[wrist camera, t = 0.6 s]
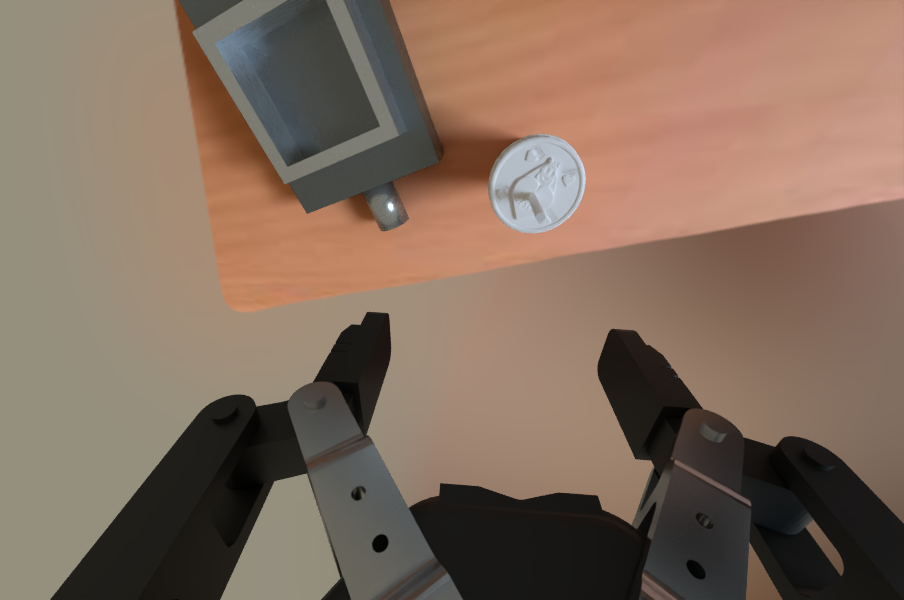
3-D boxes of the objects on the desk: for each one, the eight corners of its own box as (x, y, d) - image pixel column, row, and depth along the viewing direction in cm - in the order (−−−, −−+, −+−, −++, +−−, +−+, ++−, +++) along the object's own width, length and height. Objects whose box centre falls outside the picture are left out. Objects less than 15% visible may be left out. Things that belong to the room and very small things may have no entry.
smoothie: (473, 175, 31) (468, 228, 20) (512, 105, 28) (533, 120, 16) (530, 208, 33) (557, 278, 21) (574, 146, 29) (634, 187, 18)
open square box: (359, -84, 23) (316, -142, 17) (458, 195, 33) (453, 220, 27) (215, 7, 26) (137, -16, 20) (344, 236, 36) (317, 266, 30)
